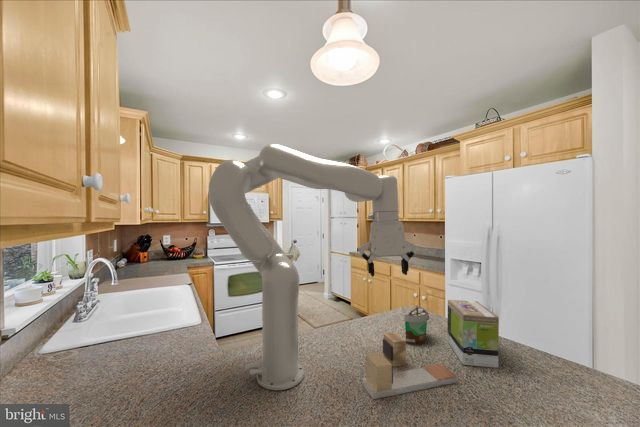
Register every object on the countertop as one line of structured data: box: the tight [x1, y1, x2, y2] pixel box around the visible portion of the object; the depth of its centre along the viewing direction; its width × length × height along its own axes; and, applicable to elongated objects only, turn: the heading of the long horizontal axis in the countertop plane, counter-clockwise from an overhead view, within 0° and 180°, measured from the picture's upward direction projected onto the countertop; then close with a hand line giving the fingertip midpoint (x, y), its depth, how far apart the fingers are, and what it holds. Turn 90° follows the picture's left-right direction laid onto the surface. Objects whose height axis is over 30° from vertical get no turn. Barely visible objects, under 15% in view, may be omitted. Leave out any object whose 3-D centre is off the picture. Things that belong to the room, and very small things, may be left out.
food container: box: [404, 305, 430, 345], centre depth 94 cm, size 12×6×10 cm, turn 143°
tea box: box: [446, 299, 500, 369], centre depth 85 cm, size 15×10×15 cm, turn 171°
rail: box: [361, 352, 458, 400], centre depth 70 cm, size 24×6×8 cm, turn 105°
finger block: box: [382, 331, 407, 368], centre depth 81 cm, size 5×6×7 cm
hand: (388, 274), depth 81 cm, fingers open, 9 cm apart
